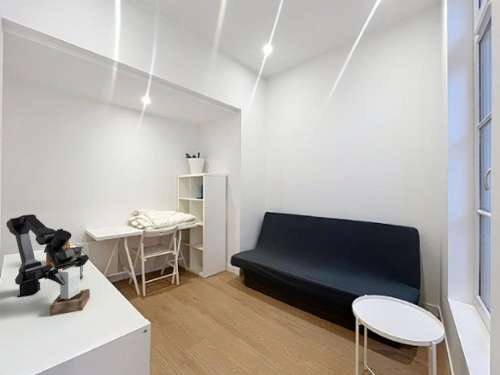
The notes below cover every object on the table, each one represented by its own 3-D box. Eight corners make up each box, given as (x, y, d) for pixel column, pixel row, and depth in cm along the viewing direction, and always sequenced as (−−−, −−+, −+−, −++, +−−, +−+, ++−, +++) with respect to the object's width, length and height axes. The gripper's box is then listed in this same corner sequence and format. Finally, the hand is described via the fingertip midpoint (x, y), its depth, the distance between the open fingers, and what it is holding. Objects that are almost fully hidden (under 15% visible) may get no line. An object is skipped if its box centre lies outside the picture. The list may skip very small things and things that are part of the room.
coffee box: (62, 278, 129) (61, 250, 128) (65, 274, 134) (64, 247, 134) (81, 275, 133) (80, 248, 133) (83, 271, 139) (83, 245, 138)
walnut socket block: (50, 316, 91) (49, 305, 91) (61, 302, 101) (60, 293, 101) (82, 310, 96) (82, 299, 95) (89, 298, 106) (89, 288, 106)
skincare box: (72, 292, 102) (72, 266, 102) (80, 292, 101) (80, 266, 101) (59, 298, 96) (59, 271, 96) (68, 299, 95) (68, 271, 95)
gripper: (38, 248, 91) (55, 279, 87) (86, 238, 108) (101, 263, 104) (28, 264, 94) (43, 295, 90) (76, 252, 111) (91, 277, 107)
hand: (72, 281), depth 98 cm, fingers closed on skincare box, 7 cm apart
